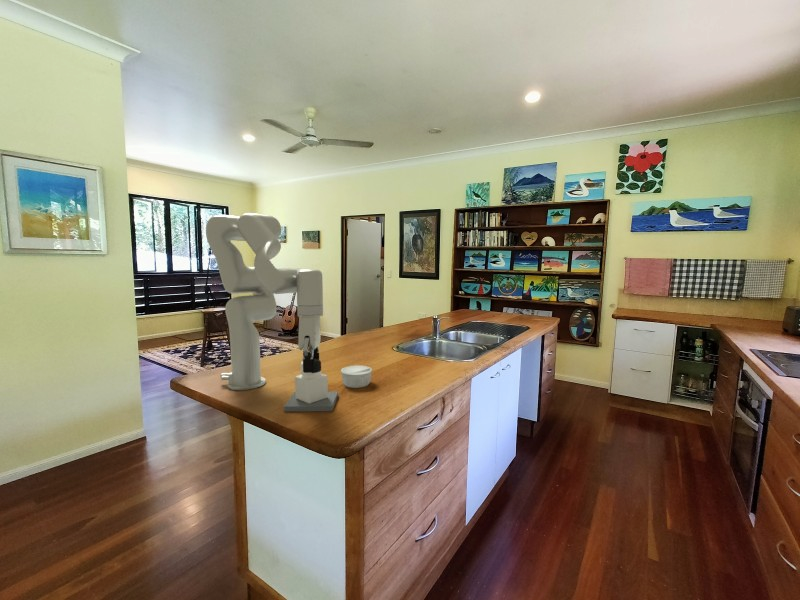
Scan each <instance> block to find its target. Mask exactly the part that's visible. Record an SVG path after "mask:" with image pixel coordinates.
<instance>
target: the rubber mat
mask: <svg viewBox="0 0 800 600" xmlns="http://www.w3.org/2000/svg"><path fill="white" fill-rule="evenodd" d="M338 397H339V391H337V390H336V391H328V397H327V398H325V399H322V400H319V401H316V402H313V403H310V404H308V403H306V402H303V401H301V400H299V399H296V391H294V392H293V394H292V395H291V396H290V398H289V399H288V400H287V402H286V403H285V404H284V406H283V412H285V413H286V412H332V411H333V410H334V408H335V405H336V403H337V400H338Z"/></svg>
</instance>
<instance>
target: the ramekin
mask: <svg viewBox="0 0 800 600" xmlns="http://www.w3.org/2000/svg"><path fill="white" fill-rule="evenodd" d="M372 373H373V368H372V367H369V366H368V365H361V364H360V365H359V364H358V365H350V366H349V365H348V366H345V367H343V368H341V369H340V374H341V379H342V384H343V385H344V386H345V387H347V388H351V389H359V388H360V389H361V388H364V387H367V386H369V384H370V383H371V380H372Z"/></svg>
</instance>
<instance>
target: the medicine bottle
mask: <svg viewBox="0 0 800 600" xmlns="http://www.w3.org/2000/svg"><path fill="white" fill-rule="evenodd" d="M294 384H295V385H294V386H295V388H294V389H295V391H294V392H296V399H299V400H301V401H303V402H306V403H308V404H310V403H313V402H316V401H319V400H322V399H325V398H327V397H328V392H329V391H328V390H329V388H328V385H329V384H328V375H327V374H324V373H322V361H321V360H320V359H319V360H318V359H314V372H313V373H304V372H303V360H302V361H301V362H300V374H298V375H296V376H295V377H294Z"/></svg>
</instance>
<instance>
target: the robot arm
mask: <svg viewBox="0 0 800 600" xmlns="http://www.w3.org/2000/svg"><path fill="white" fill-rule="evenodd" d="M205 235H206V240H207V244H208V246H209V248H210V250H211V251H212V254H213V256H214V257H215V260H216V264H217V265H216V266H217V268H218V271H219V275H220V279H221V282H222V286H223V288H224V290H225V291H226V292H227V293H229V294H232V295H233V294H235V295H237V294H238V295H239V294H249V295H239V296H236V297H235V296H234V297H233V298H230V299H229V300H227V302H226V304H225V309H224V310H225V315H226V320H227V324H228V330H229V343H230V344H229V345H230V366H231V367H230V369H231V372H229V373H228V372H222V373H221V374H220V381H228V382H227V384H226V385H227V388H228V389H230V390H233V391H246V390H253V389H256V388H260V387H262V386H264V385H265V384H266V382H267V381H266V379H267V378H265V377H263V376H262V369H261V367H262V366H261V344H260V343H261V342H260V334H259V330H258V329H257V327H256V326H255V325H254V323H255V322H257V323H258V322H262V321H268V320H271V319H273V318H274V317H275V316H276V314H277V309H278V308H277V302H276V298H275V295H279V294H280V295H282V294H296V302H297V304H296V305H297V307H296V308H297V309H296V312H297V317H299V322H298V345H297V346H298V347H297V348H298V350H299V351H302V361H303V372H304V373H313V372H314V359H318V360H320V351H319V350H320V347H319V345H320V344H321V338H322V337H321V336H322V335H321V317H323V316H324V297H323V296H324V295H323V294H324V293H323V291H324V290H323V285H324V284H323V273H322V271H320V269H303V268H276V266H275V265H274V264H273V263H272V261H271V260H272V259H274V258H275V257H276V256H278V254H279V253H280V251H281V248H282V244H281V242H280V240H279V237H280V236H281V235H282V225H281V223H280V221H279V220H278V218H276V217H274V216H273V215H267V214H259V213H254V212H253V213H252V212H247V213H243V214H242V215H240V216H236V215H228V214H218V215H213V216H211V217H210V218H209V219H208V220H207V222H206V227H205ZM232 241H236V242H238V241H239V242H246V243H247V245H248V247H250V249H251V250H252V252H253V253H254V254H255V257H254V260H253V266H247V265H246V264H245V262H244V259H243V258H244V257H243V255H242V253H241V251H240V250H239V249H238V247H237V246H236V245H235V244H233V243H232ZM250 294H252V295H250ZM274 294H275V295H274Z"/></svg>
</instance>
